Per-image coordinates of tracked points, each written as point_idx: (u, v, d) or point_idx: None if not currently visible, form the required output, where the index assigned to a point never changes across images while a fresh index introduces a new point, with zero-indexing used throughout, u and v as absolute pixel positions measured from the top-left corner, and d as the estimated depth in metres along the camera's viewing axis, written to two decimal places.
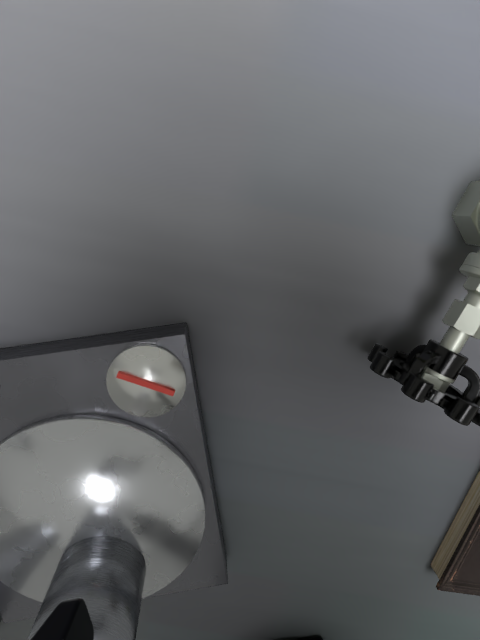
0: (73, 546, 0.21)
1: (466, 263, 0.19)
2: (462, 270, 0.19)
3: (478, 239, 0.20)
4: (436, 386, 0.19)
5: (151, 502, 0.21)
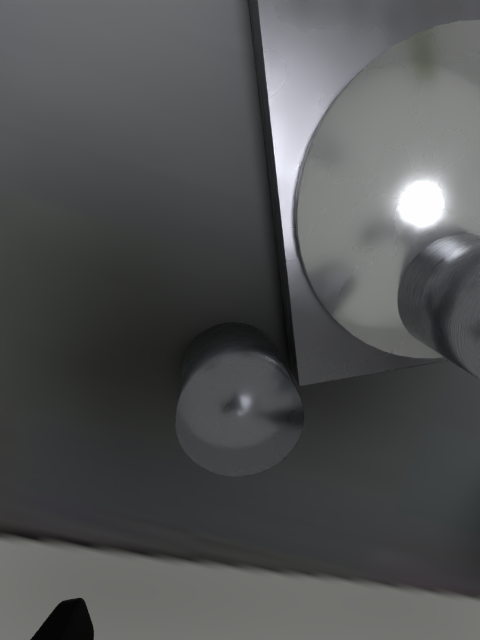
0: (432, 245, 0.16)
1: None
2: None
3: None
4: None
5: None
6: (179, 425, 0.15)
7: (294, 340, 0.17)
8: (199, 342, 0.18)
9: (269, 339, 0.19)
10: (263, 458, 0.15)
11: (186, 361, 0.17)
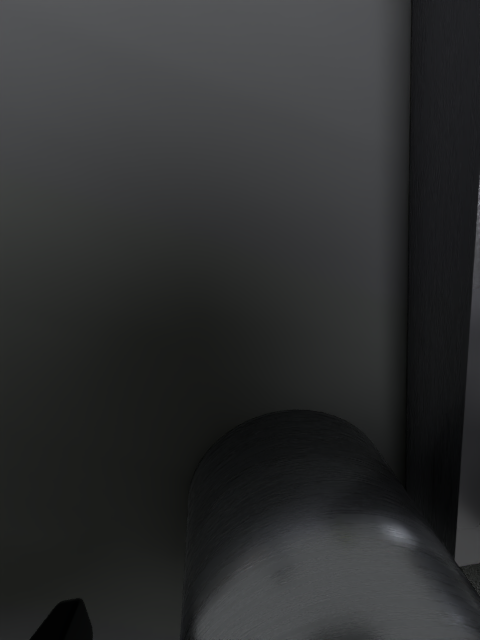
0: None
1: None
2: None
3: None
4: None
5: None
6: None
7: (457, 473, 0.07)
8: (230, 465, 0.08)
9: (373, 445, 0.09)
10: None
11: (200, 515, 0.07)
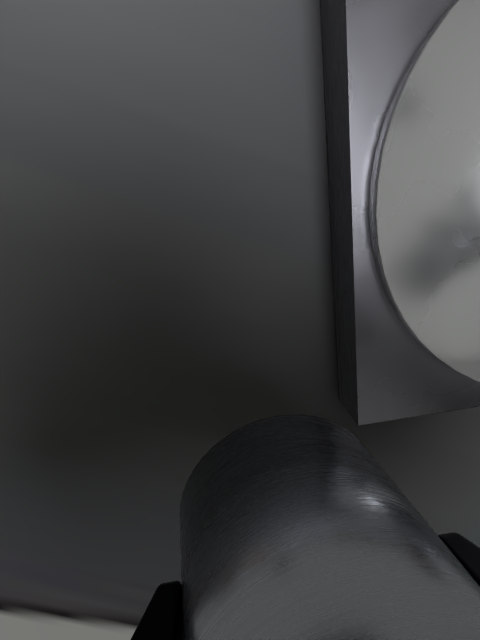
0: None
1: None
2: None
3: None
4: None
5: None
6: None
7: (355, 364, 0.13)
8: (228, 474, 0.07)
9: None
10: None
11: (199, 527, 0.07)
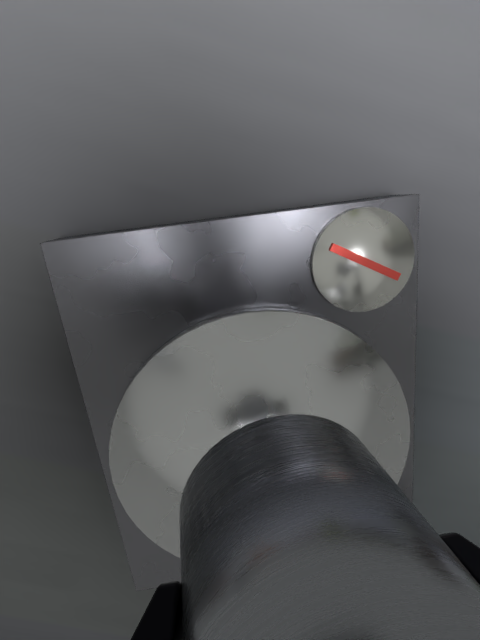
0: None
1: None
2: None
3: None
4: None
5: None
6: None
7: (127, 554, 0.18)
8: (228, 474, 0.07)
9: None
10: None
11: (198, 528, 0.07)
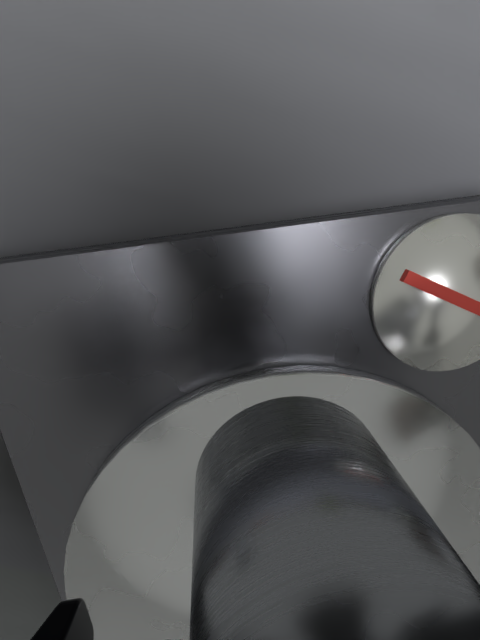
0: None
1: None
2: None
3: None
4: None
5: None
6: None
7: None
8: (237, 445, 0.08)
9: (368, 431, 0.10)
10: None
11: (209, 489, 0.08)
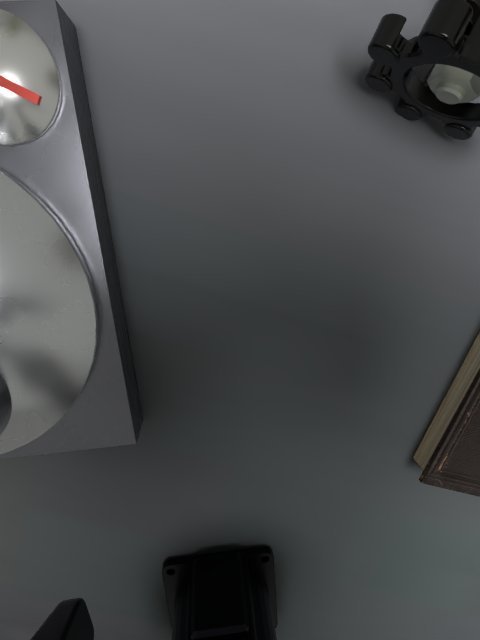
0: None
1: None
2: None
3: None
4: None
5: (12, 292, 0.14)
6: None
7: None
8: None
9: None
10: None
11: None
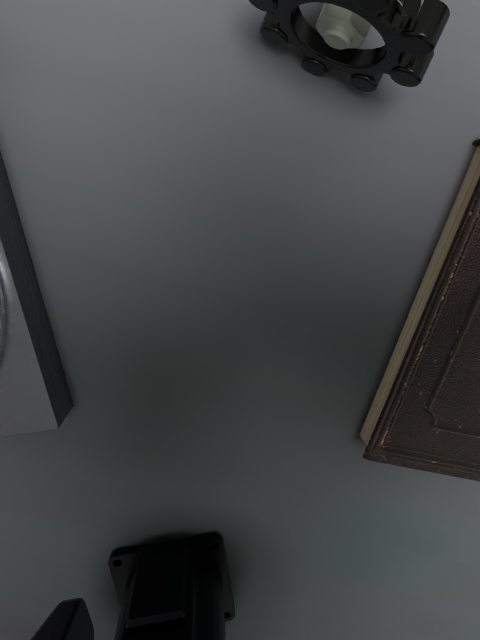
0: None
1: None
2: None
3: None
4: None
5: None
6: None
7: None
8: None
9: None
10: None
11: None
